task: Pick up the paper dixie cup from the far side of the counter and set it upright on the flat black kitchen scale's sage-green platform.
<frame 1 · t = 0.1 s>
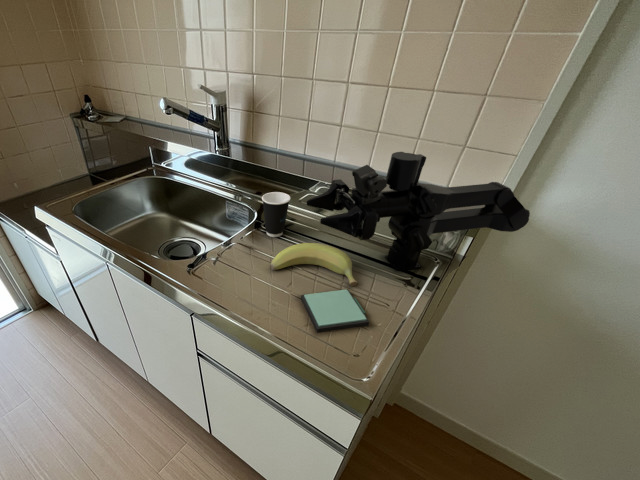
hand: (313, 211, 73), 17 cm above the counter, tool horizontal, fingers open, 9 cm apart
banana: (316, 273, 84), on the counter
dixie cup: (274, 233, 100), on the counter
scale: (332, 311, 73), on the counter
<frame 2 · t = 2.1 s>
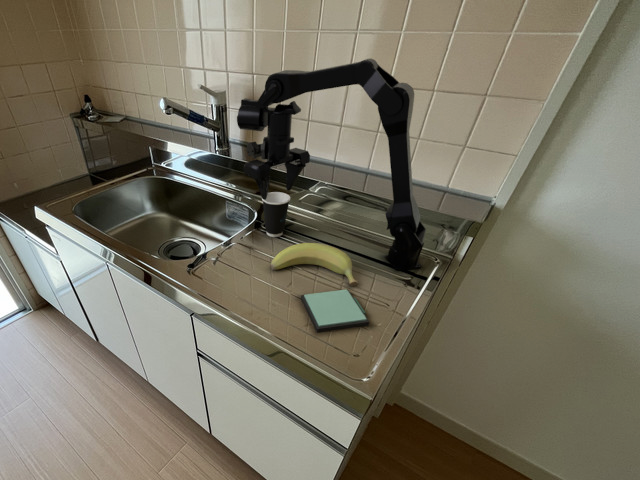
hand: (276, 194, 93), 12 cm above the counter, tool pointing down, fingers open, 9 cm apart
nothing on the counter moved.
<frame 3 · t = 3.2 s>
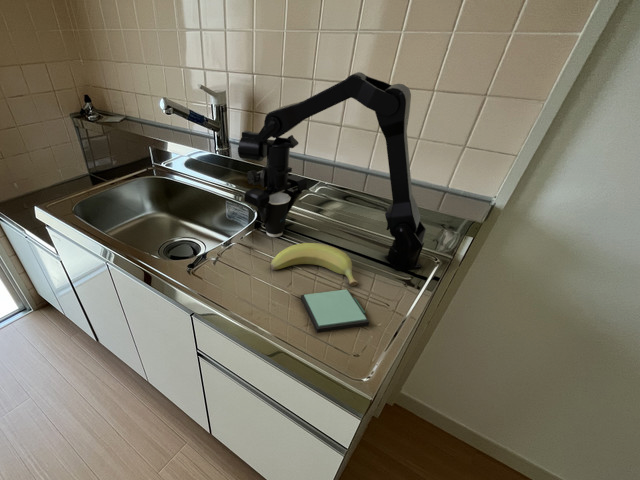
hand: (275, 219, 97), 5 cm above the counter, tool pointing down, fingers closed on dixie cup, 8 cm apart
dixie cup: (274, 233, 100), on the counter, touching gripper
everything else where it was.
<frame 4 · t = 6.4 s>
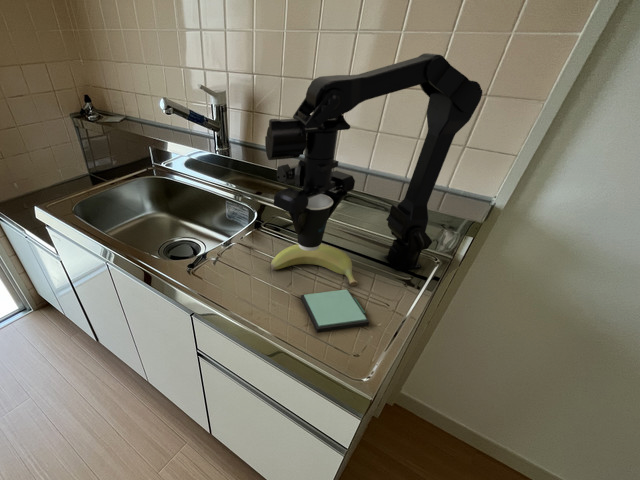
hand: (311, 228, 75), 13 cm above the counter, tool pointing down, fingers closed on dixie cup, 8 cm apart
dixie cup: (308, 246, 78), point 8 cm above the counter, touching gripper
everything else where it was.
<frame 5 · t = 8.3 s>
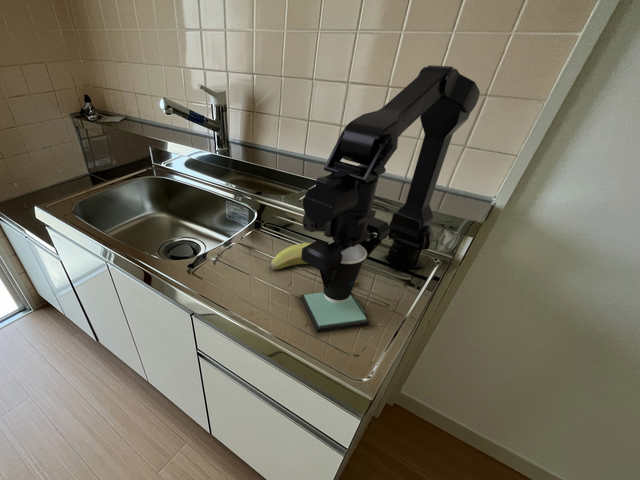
hand: (339, 278, 67), 9 cm above the counter, tool pointing down, fingers closed on dixie cup, 8 cm apart
dixie cup: (335, 296, 70), point 4 cm above the counter, touching gripper
everything else where it was.
when the fingers open (6 cm above the counter, at t = 9.6 s): dixie cup stays where it is, resting on scale.
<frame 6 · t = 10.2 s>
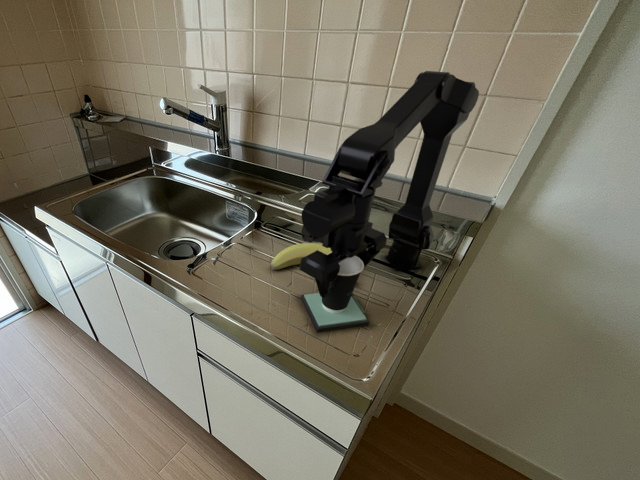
hand: (337, 287, 69), 7 cm above the counter, tool pointing down, fingers open, 9 cm apart
dixie cup: (333, 306, 72), point 1 cm above the counter, touching scale
everything else where it was.
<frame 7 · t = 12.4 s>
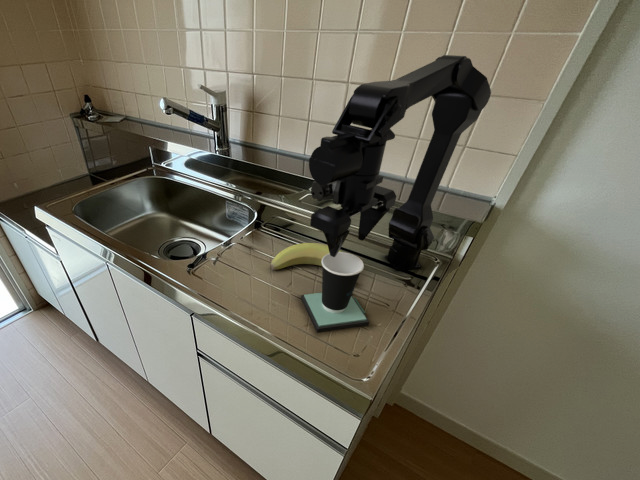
hand: (347, 247, 69), 13 cm above the counter, tool pointing down, fingers open, 9 cm apart
nothing on the counter moved.
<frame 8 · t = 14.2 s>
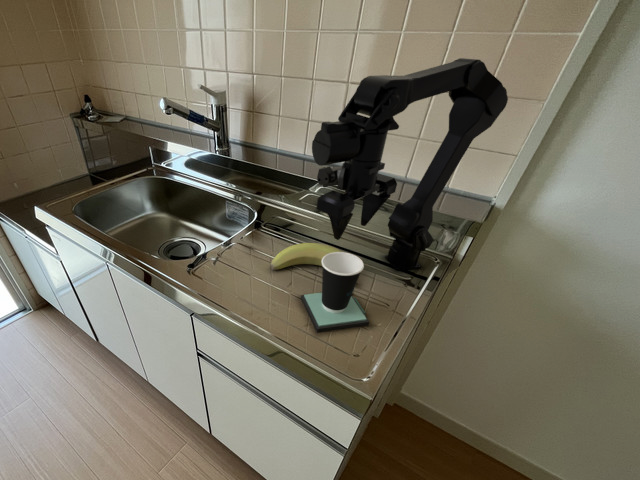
hand: (350, 231, 73), 13 cm above the counter, tool pointing down, fingers open, 9 cm apart
nothing on the counter moved.
at the end: dixie cup inside the target area on the scale (0.1 cm from its centre), point 1.4 cm above the scale's base; dixie cup tilted 0°; the gripper is holding nothing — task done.
